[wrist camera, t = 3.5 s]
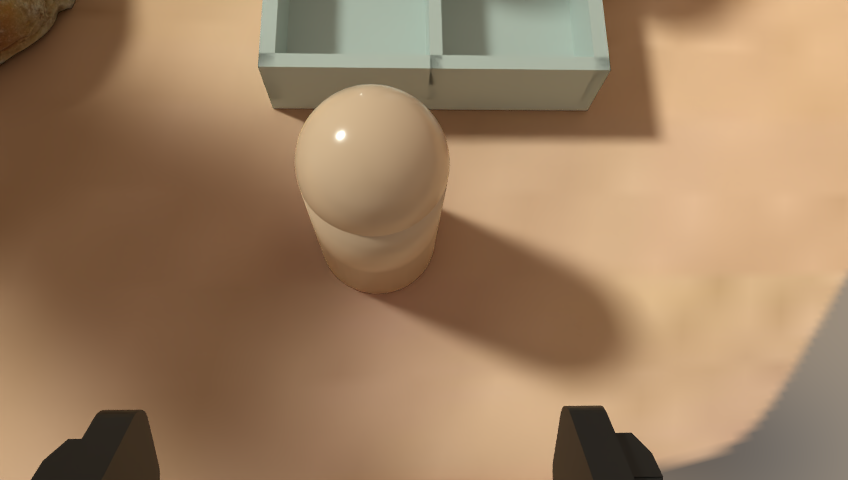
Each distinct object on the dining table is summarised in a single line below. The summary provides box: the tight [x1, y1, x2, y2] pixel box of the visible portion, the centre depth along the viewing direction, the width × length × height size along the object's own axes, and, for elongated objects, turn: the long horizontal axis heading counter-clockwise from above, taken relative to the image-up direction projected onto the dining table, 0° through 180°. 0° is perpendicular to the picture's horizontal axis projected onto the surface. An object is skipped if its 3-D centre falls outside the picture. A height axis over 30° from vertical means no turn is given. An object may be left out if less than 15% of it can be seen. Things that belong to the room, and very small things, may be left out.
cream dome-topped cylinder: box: [294, 84, 450, 294], centre depth 21 cm, size 5×5×10 cm
